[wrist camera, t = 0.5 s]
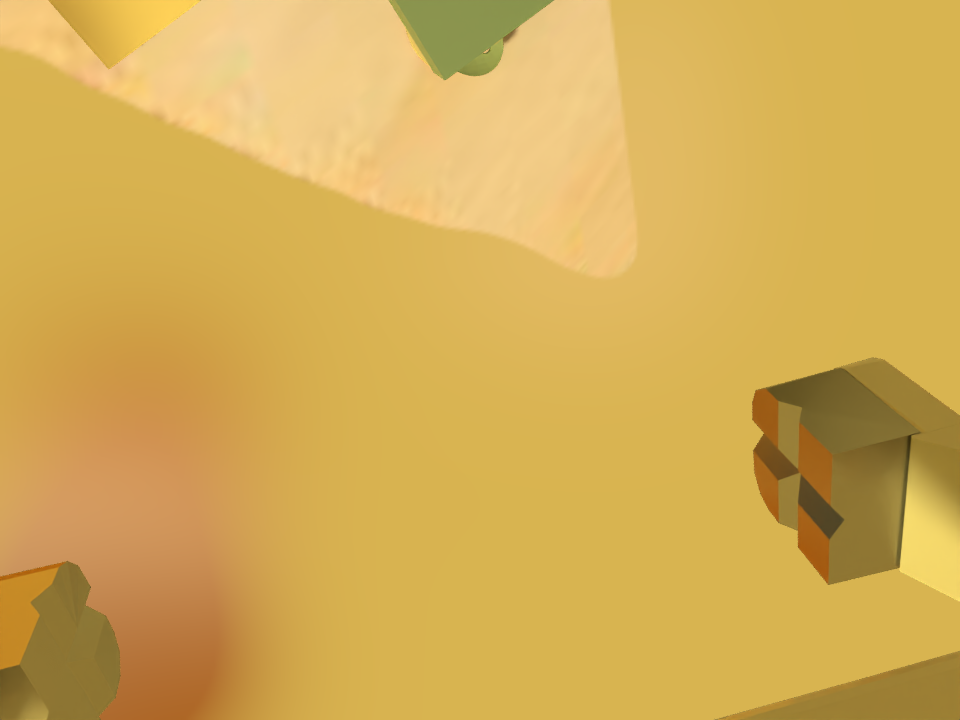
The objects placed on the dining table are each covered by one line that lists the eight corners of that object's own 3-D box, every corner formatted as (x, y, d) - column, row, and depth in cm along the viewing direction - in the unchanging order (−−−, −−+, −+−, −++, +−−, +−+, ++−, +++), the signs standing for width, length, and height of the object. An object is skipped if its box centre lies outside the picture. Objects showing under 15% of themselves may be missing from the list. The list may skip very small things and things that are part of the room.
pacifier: (409, 78, 54) (498, 64, 55) (431, 99, 49) (529, 82, 50) (393, -47, 50) (488, -60, 52) (414, -40, 45) (520, -54, 46)
